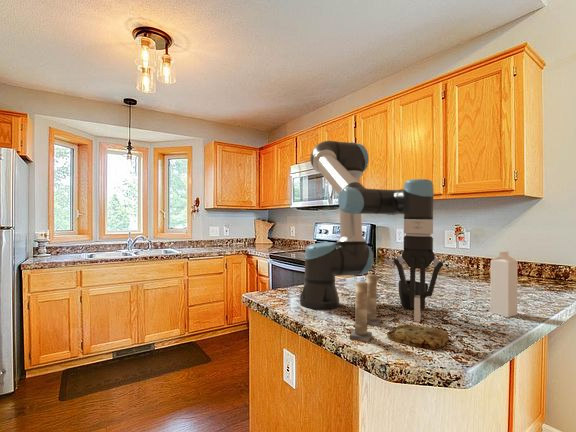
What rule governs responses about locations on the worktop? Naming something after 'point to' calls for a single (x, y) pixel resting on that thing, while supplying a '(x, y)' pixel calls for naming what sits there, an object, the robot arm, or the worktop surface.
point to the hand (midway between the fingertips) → (417, 320)
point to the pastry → (419, 336)
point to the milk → (503, 285)
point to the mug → (405, 297)
